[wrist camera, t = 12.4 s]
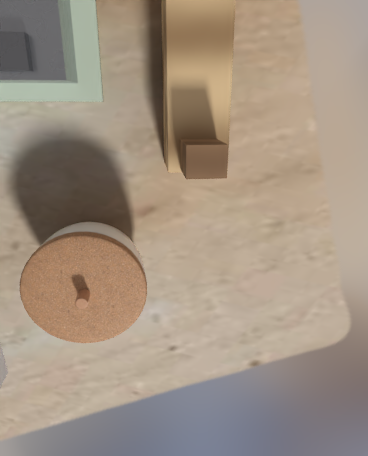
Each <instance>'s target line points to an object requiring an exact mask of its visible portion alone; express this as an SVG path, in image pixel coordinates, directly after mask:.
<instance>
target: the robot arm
mask: <svg viewBox="0 0 368 456" xmlns="http://www.w3.org/2000/svg"><path fill="white" fill-rule="evenodd" d="M7 373H8V370H7V366H6V363H5V359H4V355H3V352H2V348H1V344H0V387H1V385H2V383H3V381H4V379H5V377H6V375H7Z"/></svg>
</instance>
